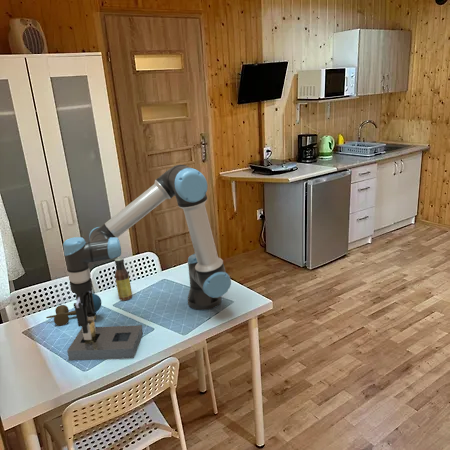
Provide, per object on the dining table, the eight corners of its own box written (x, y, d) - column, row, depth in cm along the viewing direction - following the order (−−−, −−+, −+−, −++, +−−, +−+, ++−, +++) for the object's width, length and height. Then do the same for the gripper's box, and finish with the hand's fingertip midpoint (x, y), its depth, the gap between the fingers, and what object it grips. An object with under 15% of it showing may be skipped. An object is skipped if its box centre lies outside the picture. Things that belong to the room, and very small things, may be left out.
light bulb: (93, 326, 179) (88, 300, 175) (79, 321, 183) (75, 296, 180) (108, 317, 186) (104, 292, 182) (94, 313, 190) (90, 288, 186)
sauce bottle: (135, 296, 203) (129, 257, 197) (125, 302, 198) (120, 262, 192) (125, 294, 207) (119, 255, 201) (115, 299, 202) (109, 260, 196)
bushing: (98, 338, 166) (95, 319, 163) (94, 344, 161) (91, 325, 159) (87, 338, 166) (84, 319, 163) (83, 344, 162) (79, 326, 159)
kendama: (95, 320, 185) (46, 329, 179) (94, 310, 194) (47, 318, 188) (94, 307, 184) (44, 316, 178) (93, 298, 192) (45, 306, 187)
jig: (142, 334, 171) (141, 325, 170) (133, 358, 156) (132, 348, 155) (83, 336, 172) (82, 327, 171) (68, 360, 157) (67, 350, 156)
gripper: (78, 270, 164) (87, 324, 171) (60, 290, 148) (72, 349, 155) (97, 269, 164) (106, 323, 171) (82, 289, 147) (92, 348, 154)
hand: (90, 335), depth 163 cm, fingers closed on bushing, 4 cm apart
